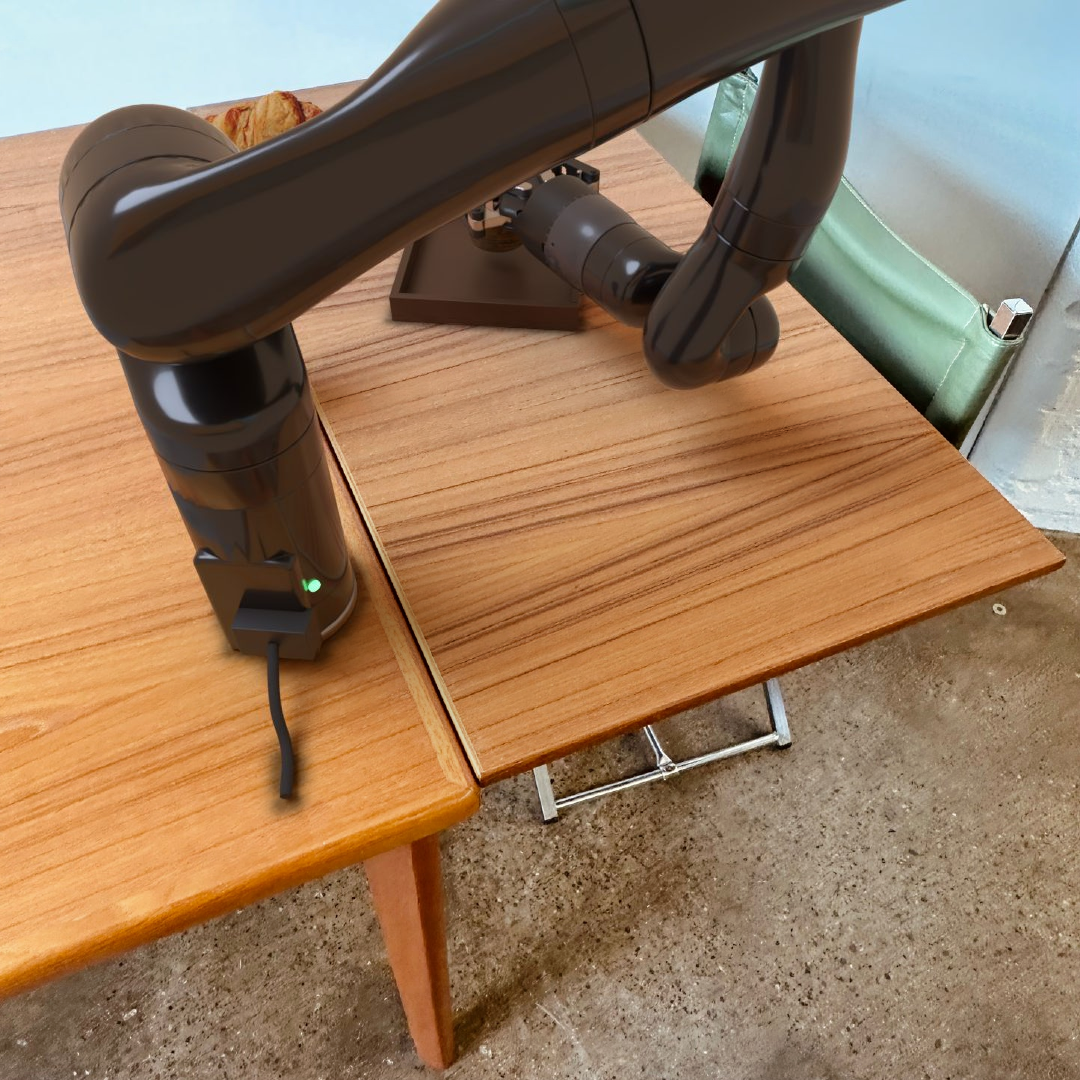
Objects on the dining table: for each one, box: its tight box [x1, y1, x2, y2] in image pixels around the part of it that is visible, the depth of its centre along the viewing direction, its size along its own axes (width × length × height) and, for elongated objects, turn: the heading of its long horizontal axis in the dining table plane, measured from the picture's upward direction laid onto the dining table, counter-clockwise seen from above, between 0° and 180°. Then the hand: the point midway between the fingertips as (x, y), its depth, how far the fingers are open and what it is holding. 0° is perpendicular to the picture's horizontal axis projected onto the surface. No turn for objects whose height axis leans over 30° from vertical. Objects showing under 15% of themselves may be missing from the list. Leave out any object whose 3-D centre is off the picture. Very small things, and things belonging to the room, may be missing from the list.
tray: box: [388, 218, 581, 332], centre depth 92 cm, size 22×18×3 cm
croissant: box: [203, 89, 325, 151], centre depth 105 cm, size 21×10×8 cm, turn 93°
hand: (481, 159), depth 87 cm, fingers closed on utensil holder, 5 cm apart
